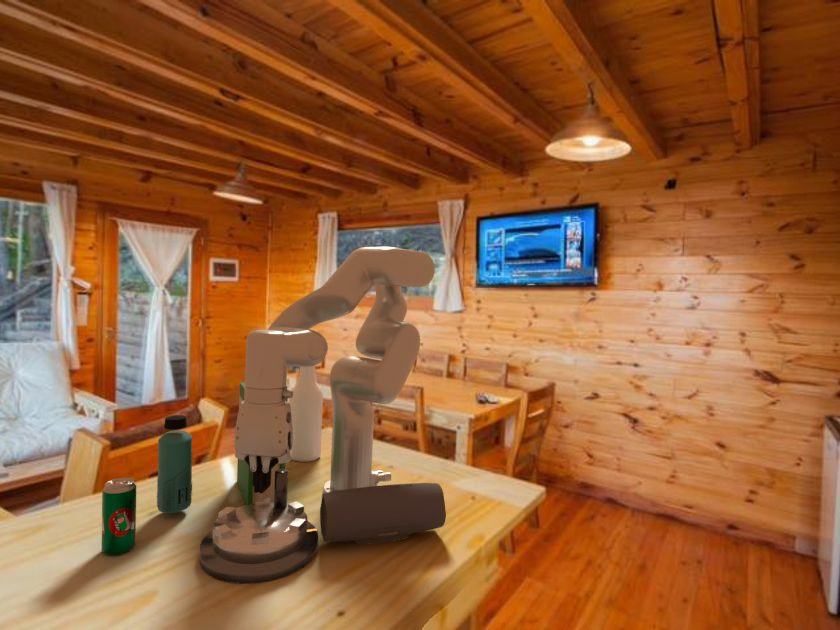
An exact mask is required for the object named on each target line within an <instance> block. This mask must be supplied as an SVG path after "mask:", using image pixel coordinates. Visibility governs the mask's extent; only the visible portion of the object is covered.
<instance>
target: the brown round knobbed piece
mask: <svg viewBox="0 0 840 630" xmlns="http://www.w3.org/2000/svg"><path fill="white" fill-rule="evenodd" d="M288 481H289V470H288V469H286V468H285V469H279V470H276V471H275V487H274V502H270V497H265V498H256V503H254V504H249V505H245V504H244V505H242V506H239V507H232V506H226V507H224V508H222V510H220V511H218V513H217V514H218V516H217V517H218V518H217V519H216V520H215V522H214V523H213V526H212V530H213V544H212V546H213V550H214V552H215V553H216V554H217V555H219V556H220V557H222V558H224V559H226V560H229V561H233V562H239V563H260V562H267V561H271V560H275V559H279V558H282V557H284V556H287V555H289V554H291V553H293V552H294V551H296V550H297V549H299V548H300V547H301V546H302V545H303V544H304V542H305V541H306V538H307V521H308V522H309V520H308V514H307V513H306V512H305V505H303V504H302V503H300V502H298V501H294V502H290V503H288V487H289V485H288V483H289V482H288Z"/></svg>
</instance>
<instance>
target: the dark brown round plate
mask: <svg viewBox="0 0 840 630" xmlns="http://www.w3.org/2000/svg"><path fill="white" fill-rule="evenodd" d="M212 544H213V529H212V530H211V531H210V532H208V533H207V534H206V535H205V536H204V537H203V539H202V541H201V543H200V545H199V555H198V556H199V557H198V558H199V565H200V568H201V569H202V571H203V572H204V573H205V574H207V575H208V576H209V577H211V578H213V579H215V580H218V581H221V582H225V583H231V584H241V585H242V584H248V585H249V584H260V583H266V582H272V581H275V580H278V579H282V578H284V577H288V576H291V575H292V574H294V573H297V572H298V571H300V570H302V569H303V568H305V567H306V566H307V565H308V564H309V563H311V561H312V560H313V559H314V558H315V557H316V554H317V552H318V550H319V549H318V548H319V532H318V529H317V528H316V527H315V525H314V524H313V523H311V522H310V521H309V520H308V521H307V538H306V541H305V542H304V544H303V545H302V546H301V547H300V548H299V549H297V550H296V551H294V552H293V553H291V554H289V555H287V556H284V557H282V558H279V559H275V560H271V561H267V562H260V563H239V562H233V561H229V560H226V559H224V558H222V557H220V556H219V555H217V554H216V553H215V552H214V550H213V546H212Z"/></svg>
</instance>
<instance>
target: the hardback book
mask: <svg viewBox="0 0 840 630" xmlns="http://www.w3.org/2000/svg"><path fill="white" fill-rule="evenodd" d="M244 393H245V381H242V382H241V381H240V382H239V395H238V398H239V400H238V401H239V402H238V404H239V405H238V409H239V408H240V405H241V402H242V401H244ZM286 401H288V399H287V400H286ZM262 462H263V463H264V457H262ZM236 465H237V468H236V471H237V473H236V482H237V486H238V488H239V490H240V495H241V497H242V501H243V503H244V505H249V504H254V503H256V498H265V497H270V502H274V487H275V471H276V470H279V469H285V470H286V463H281V464H276V465H275V466H274V467H273V468H272V469H271V485H270V487H269V488H268V489H267V490H266V491H265V492H263V493H259V492H258V493H254V486H253V472H252V471H251V469H250V466H249V465H248V464H247V463H246V461H245V460H241V459H238V458H237V464H236Z"/></svg>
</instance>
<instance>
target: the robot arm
mask: <svg viewBox="0 0 840 630" xmlns="http://www.w3.org/2000/svg"><path fill="white" fill-rule="evenodd" d="M435 273H436V266H435V262H434V260H433V259H432V257H431V256H430V255H429V254H428V253H426V252H424V251H419V250H412V249H411V250H410V249H404V248H399V247H392V246H367V247H366V246H365V247H359V248H356V249H355V250H353V251H352V252H351V253H350V254H348V256H347V257H346V258H345V260H344V261H343V262H342V263H341V264H340V265H339V266H338V268H337V269H336V270H335V271H334V272H333V273H332V274H331V276H330V277H329V278H328V280H326V282H325V283H324V284H323V285H322V286H320V287H319V288H317V289H315V290H313V291H312V292H310V293H308V294H307V295H305V296H303V297H302V298H300V299H298V300H295V302H293V303H292V304H290V305H289V306H287V307H286V308H285V309H284V310H283V311H282V312H280V314H279V315H278V316H277V317H276V318H275V319H274V320H273V322H272V323H271V324H270V325H269V327H268V328H267V329H256V330H251V331H249V333H248V334H247V337H246V344H245V345H246V348H245V372H244V373H245V374H244V378H245V379H244V382H245V393H244V401H242V402H241V405H240V408H239V407H238V411H237V413H238V414H237V417H236V422H235V423H236V424H235V433H234V449H235V453H234V457H235V459H237V460H238V459H241V460H245V461H246V463H247V464H248V465H249V466H250V469H251V471H252V472H253V486H254V493H258V492H259V493H263V492H265V491H266V490H267V489H268V488H269V487H270V485H271V469H272V468H273V467H274V466H275V465H276V464H281V463H285V464H287V463H289V462H290V461H291V456H290V450H291V449H292V447H293V421H292V412H291V405H290V401H288V399H290V398H292V397H293V392H292V390H289V389H288V386H287V380H288V379H287V376H288V375H287V374H288V368H289V367H298V368H300V367H311V366H315V367H316V365H319V364H321V362H323V361H324V360H325V358H326V356H327V354H328V351H329V349H328V342H327V339H326V337H325V336H323V334H322V333H320V332H319V331H316V330H314V329H312V328H313V327H315V326H317V325H320V324H322V323H325V322H329V321H331V320H336V319H339V318H341V317H344V316H347V315H349V314H351V313H352V312H354V310H355V309H356V308H357V307H358V306H359V304H360V302H361V301H362V300H363V298H364V297H365V296H366V294H368V292H369V291H370V289H372V287H373V286H374V289H375V290H374V291H375V299H374V303H373V305H372V307H371V309H370V310H369V312H368V314H367V317H366V318H365V319H364V322H363V323H362V326H361V327H360V329H359V331H358V334H357V336H356V339H355V347H356V350H357V352H358V353H359V354H360V355H362V356H355V355H350V356H349V355H348V356H343V357H340V358H339V359H337V360H336V362H335V363H334V364H333V365H332V367H331V370H330V373H329V386H330V391H331V399H332V425H331V427H332V428H331V429H332V431H331V456H330V457H331V458H330V478H329V480H328V481H326V482H325V483H324V485H323V490H322V491H323V494H324V493H328V492H333V491H339V490H346V489H354V488H362V487H371V486H378V484H379V482H380V483H381V482H384V483H385V482H390V481H391V480H392V474H391V472H390V471H389V472H383V470H376V471H374V470H373V469H372V467H373V448H374V447H373V445H374V426H375V416H374V415H375V414H374V410H373V407H372V403H373V404H377V405H378V404H379V405H388V404H389V405H390V404H391V403H392V402H394V401H395V400H396V399H397V398H398V397H399V395H400V393H401V392H402V390H403V388H404V386H405V384H406V383H407V379H408V377H409V375H410V373H411V371H412V368H413V366H414V364H415V362H416V361H417V358H418V355H419V352H420V348H421V335H420V332H419V330H418V329H417V327H416V326H415V325H414V324H412V323H410V322H406V321H404V320H405V319H406V316H407V311H408V310H407V309H408V307H407V306H408V305H407V302H406V300H405V296H404V295H403V292H402V289H401V287H406V288H408V287H411V288H412V287H413V288H423V287H426V286H427V285H429V284H430V283H431V282H432V281H433V278H434V276H435ZM363 356H364V357H363ZM286 400H287V401H286ZM262 457H264V463H263V462H262Z"/></svg>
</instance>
